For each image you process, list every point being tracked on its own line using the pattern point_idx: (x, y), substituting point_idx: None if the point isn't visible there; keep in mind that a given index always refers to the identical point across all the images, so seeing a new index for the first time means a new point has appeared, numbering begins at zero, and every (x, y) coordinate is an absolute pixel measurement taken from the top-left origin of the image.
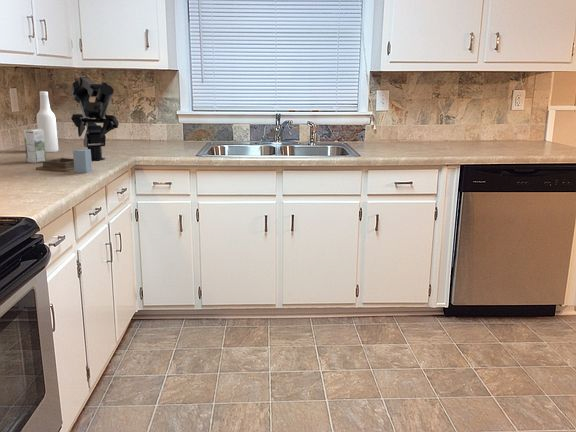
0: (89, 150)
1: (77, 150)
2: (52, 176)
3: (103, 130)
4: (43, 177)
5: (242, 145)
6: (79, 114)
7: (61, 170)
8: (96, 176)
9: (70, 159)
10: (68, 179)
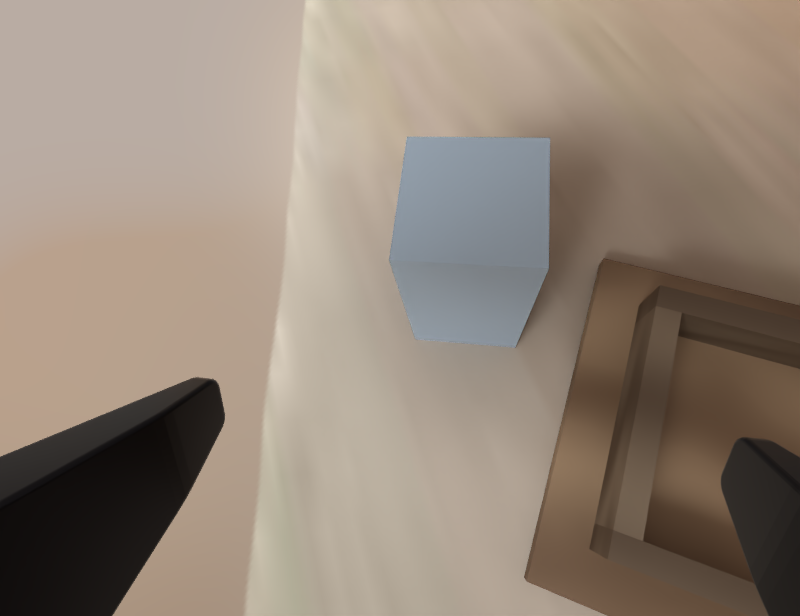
0: (394, 236)
1: (496, 142)
2: (592, 113)
3: (29, 450)
4: (628, 79)
5: None
6: None
7: (641, 271)
8: (323, 156)
9: None
10: (450, 59)
